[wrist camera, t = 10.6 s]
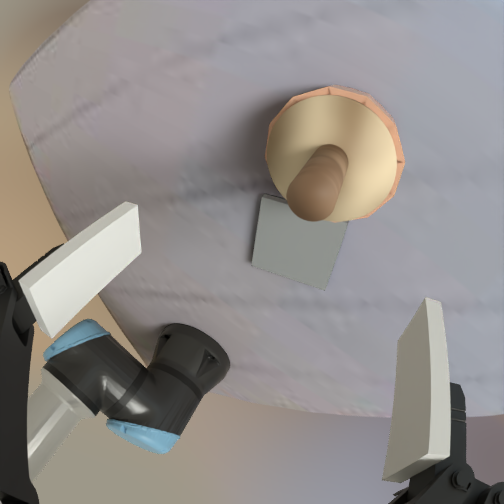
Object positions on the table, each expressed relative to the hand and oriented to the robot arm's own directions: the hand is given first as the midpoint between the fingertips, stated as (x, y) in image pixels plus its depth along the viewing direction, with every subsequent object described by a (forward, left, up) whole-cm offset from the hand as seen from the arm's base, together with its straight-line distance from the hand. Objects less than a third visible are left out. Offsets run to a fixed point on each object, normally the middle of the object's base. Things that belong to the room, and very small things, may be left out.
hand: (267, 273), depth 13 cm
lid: (0, 0, -16) cm, 16 cm away
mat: (-2, -13, -22) cm, 25 cm away
